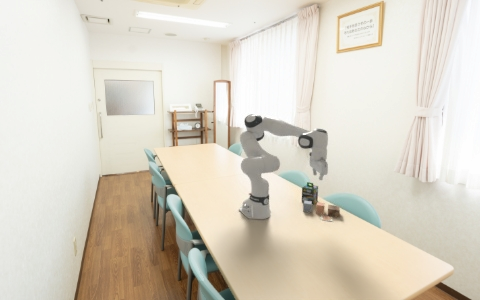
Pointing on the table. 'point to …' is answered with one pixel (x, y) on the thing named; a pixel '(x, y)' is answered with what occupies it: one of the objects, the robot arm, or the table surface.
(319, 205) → the terracotta block
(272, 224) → the table surface
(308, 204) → the slate block
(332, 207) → the walnut base
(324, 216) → the swatch
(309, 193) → the dark product box
